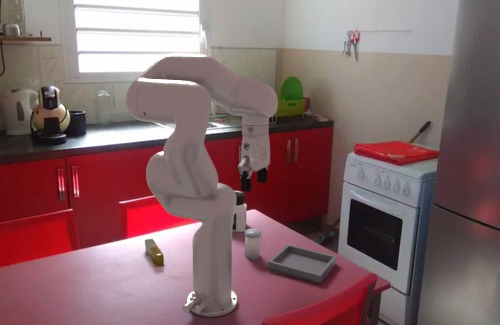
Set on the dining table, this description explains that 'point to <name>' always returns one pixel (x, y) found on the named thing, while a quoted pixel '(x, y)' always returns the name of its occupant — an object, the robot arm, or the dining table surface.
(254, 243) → the mushroom
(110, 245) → the dining table surface
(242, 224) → the container
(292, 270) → the tray
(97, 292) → the dining table surface
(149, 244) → the medication box
